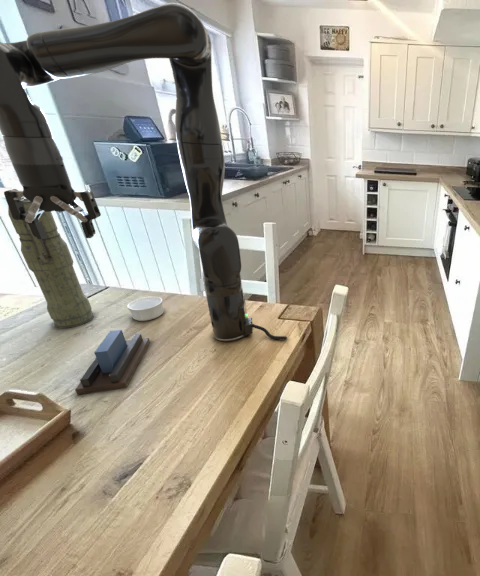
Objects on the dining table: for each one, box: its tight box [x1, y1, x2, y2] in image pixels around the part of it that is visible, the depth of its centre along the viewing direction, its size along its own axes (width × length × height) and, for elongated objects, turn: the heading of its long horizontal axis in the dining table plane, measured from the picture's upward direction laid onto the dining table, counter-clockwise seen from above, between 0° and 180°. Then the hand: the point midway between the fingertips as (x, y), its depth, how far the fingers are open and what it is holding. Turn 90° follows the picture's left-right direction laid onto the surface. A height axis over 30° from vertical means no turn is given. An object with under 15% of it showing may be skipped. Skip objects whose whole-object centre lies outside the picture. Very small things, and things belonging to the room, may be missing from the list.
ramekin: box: [126, 295, 164, 322], centre depth 100 cm, size 9×9×4 cm
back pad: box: [94, 329, 127, 373], centre depth 78 cm, size 2×9×6 cm, turn 18°
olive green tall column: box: [7, 198, 95, 329], centre depth 88 cm, size 9×12×35 cm
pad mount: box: [74, 333, 151, 395], centre depth 79 cm, size 9×18×4 cm, turn 18°
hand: (67, 237), depth 73 cm, fingers open, 8 cm apart
